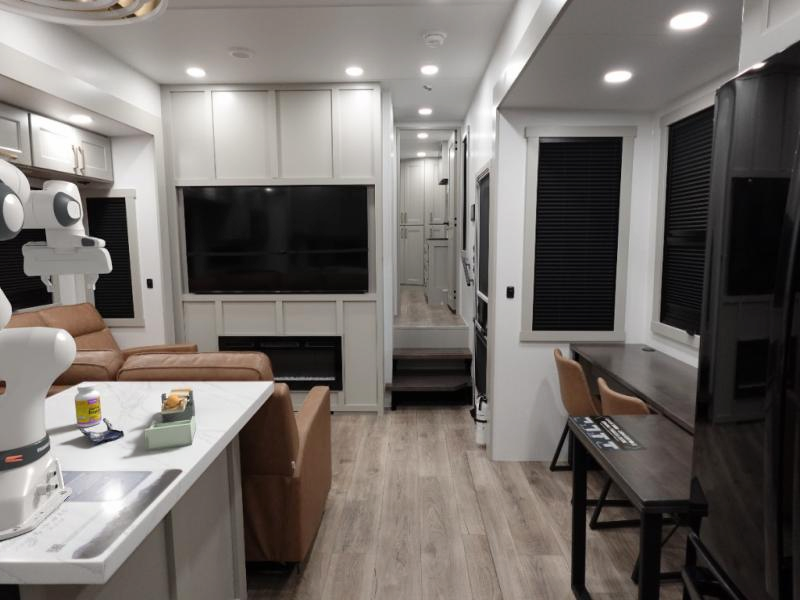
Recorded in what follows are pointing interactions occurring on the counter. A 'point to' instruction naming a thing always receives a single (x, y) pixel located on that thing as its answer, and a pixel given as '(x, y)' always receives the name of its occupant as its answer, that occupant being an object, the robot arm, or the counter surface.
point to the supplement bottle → (88, 406)
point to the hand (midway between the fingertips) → (71, 290)
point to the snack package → (103, 433)
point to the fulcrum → (180, 416)
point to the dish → (170, 434)
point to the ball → (173, 401)
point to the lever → (183, 397)
